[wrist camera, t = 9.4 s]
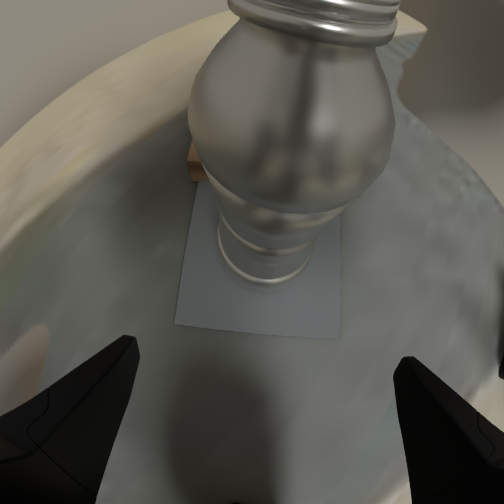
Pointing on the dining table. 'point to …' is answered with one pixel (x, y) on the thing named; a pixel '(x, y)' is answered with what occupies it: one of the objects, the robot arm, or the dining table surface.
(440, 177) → the dining table surface
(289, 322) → the felt coaster
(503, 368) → the end cap
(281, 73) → the plastic bottle
